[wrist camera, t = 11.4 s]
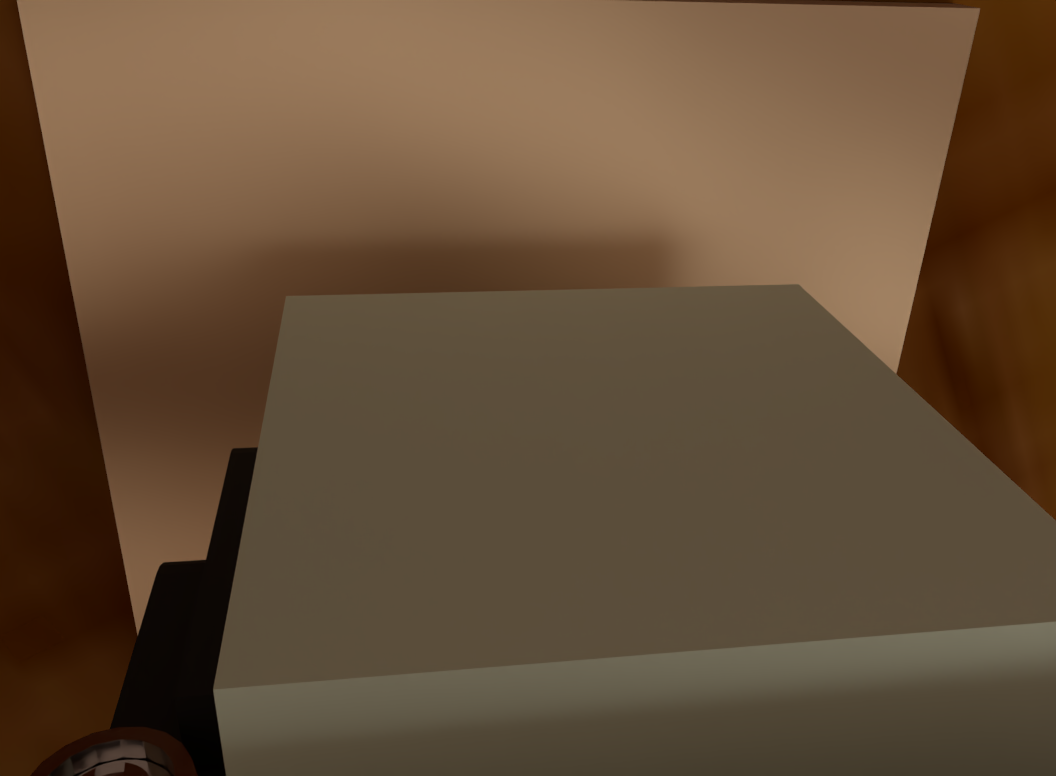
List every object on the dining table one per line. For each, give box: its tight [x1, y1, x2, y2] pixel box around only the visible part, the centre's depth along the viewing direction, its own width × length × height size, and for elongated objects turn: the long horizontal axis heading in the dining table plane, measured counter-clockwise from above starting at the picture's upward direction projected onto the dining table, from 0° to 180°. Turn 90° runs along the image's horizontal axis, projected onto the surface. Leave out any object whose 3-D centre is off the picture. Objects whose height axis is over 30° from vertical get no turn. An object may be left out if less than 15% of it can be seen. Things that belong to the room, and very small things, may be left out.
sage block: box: [213, 284, 1056, 776], centre depth 10 cm, size 6×6×6 cm
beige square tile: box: [17, 0, 980, 635], centre depth 15 cm, size 12×12×1 cm
